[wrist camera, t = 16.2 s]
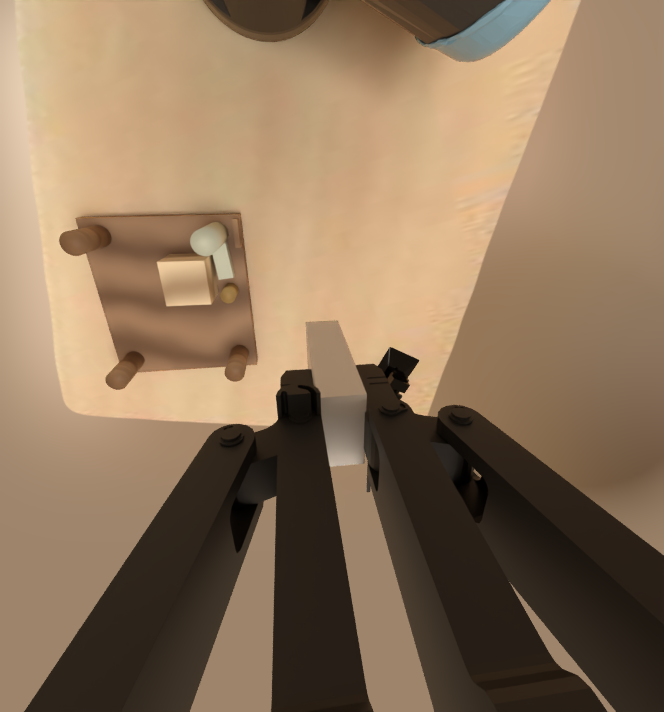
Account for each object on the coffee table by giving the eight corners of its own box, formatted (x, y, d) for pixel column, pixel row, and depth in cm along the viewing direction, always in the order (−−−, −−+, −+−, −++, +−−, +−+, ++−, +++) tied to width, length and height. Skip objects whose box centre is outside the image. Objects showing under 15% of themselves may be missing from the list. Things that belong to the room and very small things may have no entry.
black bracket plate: (385, 413, 60) (393, 430, 56) (348, 398, 58) (353, 414, 54) (426, 353, 56) (438, 366, 52) (388, 334, 54) (397, 347, 50)
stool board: (82, 217, 42) (43, 223, 35) (240, 213, 44) (232, 218, 37) (127, 367, 50) (102, 396, 44) (257, 359, 52) (253, 385, 45)
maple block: (170, 254, 43) (156, 262, 39) (212, 252, 44) (204, 260, 39) (178, 294, 45) (166, 306, 41) (218, 292, 46) (211, 304, 41)
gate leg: (203, 223, 42) (186, 231, 35) (225, 220, 42) (213, 227, 35) (217, 277, 45) (204, 295, 38) (238, 274, 45) (229, 291, 38)
